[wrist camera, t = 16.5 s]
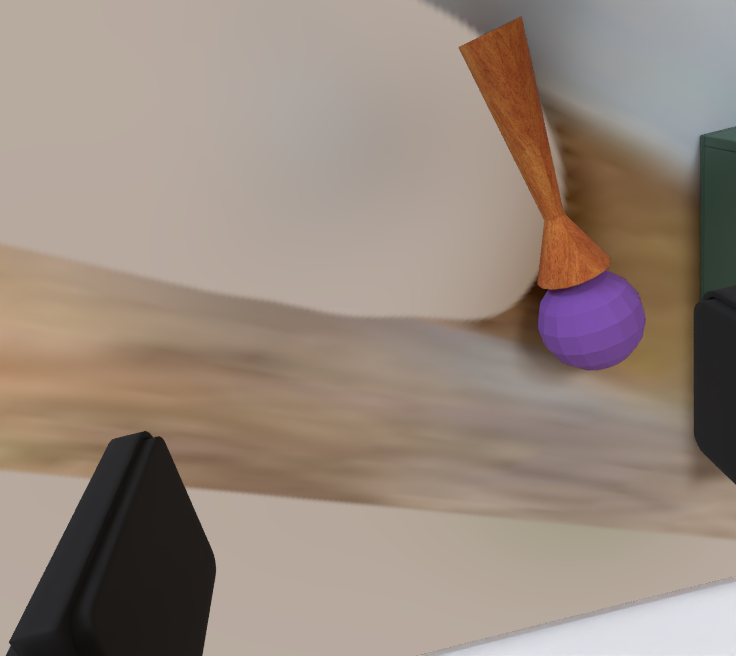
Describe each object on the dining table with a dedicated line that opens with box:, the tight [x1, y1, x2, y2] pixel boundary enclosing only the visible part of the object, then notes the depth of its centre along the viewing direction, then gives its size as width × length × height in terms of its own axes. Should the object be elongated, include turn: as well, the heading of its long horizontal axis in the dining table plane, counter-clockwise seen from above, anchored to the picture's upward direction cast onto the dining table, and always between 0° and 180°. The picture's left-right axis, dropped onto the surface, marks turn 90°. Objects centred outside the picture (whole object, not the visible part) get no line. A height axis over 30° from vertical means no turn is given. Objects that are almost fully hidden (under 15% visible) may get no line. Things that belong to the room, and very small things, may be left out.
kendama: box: [459, 16, 646, 370], centre depth 34 cm, size 6×6×20 cm
